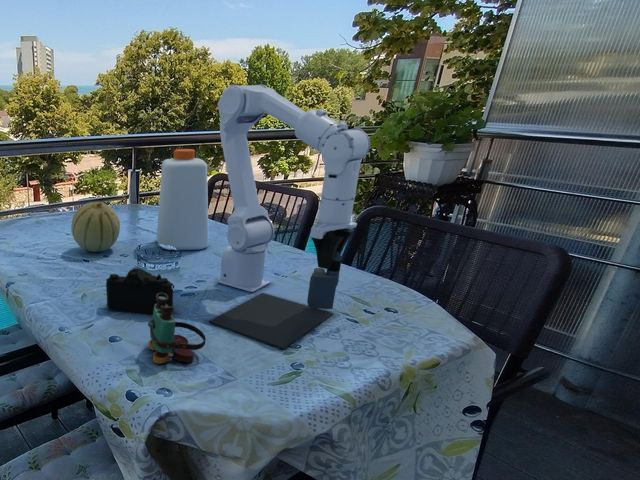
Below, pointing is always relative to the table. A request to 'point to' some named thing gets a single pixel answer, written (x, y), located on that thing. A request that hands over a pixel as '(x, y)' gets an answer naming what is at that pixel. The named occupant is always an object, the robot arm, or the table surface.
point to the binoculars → (170, 334)
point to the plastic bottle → (183, 202)
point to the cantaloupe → (95, 227)
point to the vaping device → (324, 285)
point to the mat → (272, 320)
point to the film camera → (136, 291)
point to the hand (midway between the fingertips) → (326, 266)
